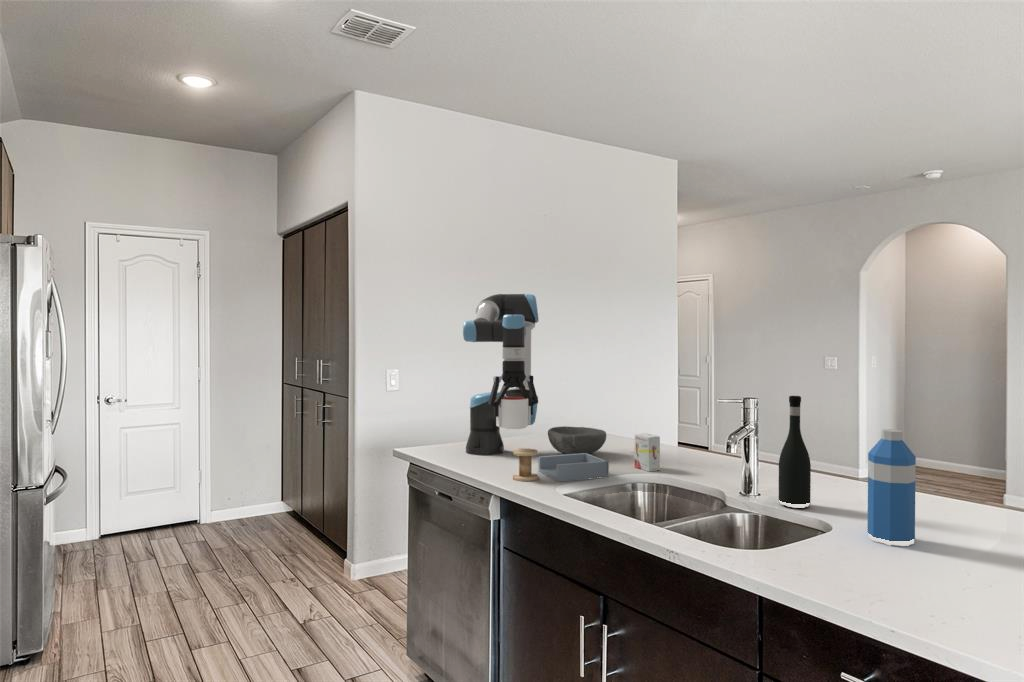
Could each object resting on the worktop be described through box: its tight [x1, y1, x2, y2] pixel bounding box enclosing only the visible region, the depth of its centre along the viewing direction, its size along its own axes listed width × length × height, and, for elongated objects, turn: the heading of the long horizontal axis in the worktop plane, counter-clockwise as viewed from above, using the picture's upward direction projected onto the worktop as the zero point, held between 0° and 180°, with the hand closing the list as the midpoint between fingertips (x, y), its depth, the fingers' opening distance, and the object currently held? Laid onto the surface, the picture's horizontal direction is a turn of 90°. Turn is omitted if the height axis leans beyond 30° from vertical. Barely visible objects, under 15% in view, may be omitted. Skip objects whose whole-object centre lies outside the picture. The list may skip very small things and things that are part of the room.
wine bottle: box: [778, 395, 812, 504], centre depth 179 cm, size 8×8×30 cm
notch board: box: [537, 453, 610, 483], centre depth 218 cm, size 16×18×5 cm
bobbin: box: [512, 448, 539, 482], centre depth 212 cm, size 8×8×9 cm
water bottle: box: [867, 428, 917, 541], centre depth 149 cm, size 9×9×25 cm
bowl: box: [547, 425, 607, 455], centre depth 253 cm, size 23×22×10 cm
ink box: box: [634, 432, 661, 473], centre depth 228 cm, size 9×5×12 cm, turn 25°
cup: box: [499, 397, 529, 430], centre depth 223 cm, size 10×10×10 cm
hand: (513, 425), depth 223 cm, fingers closed on cup, 10 cm apart
